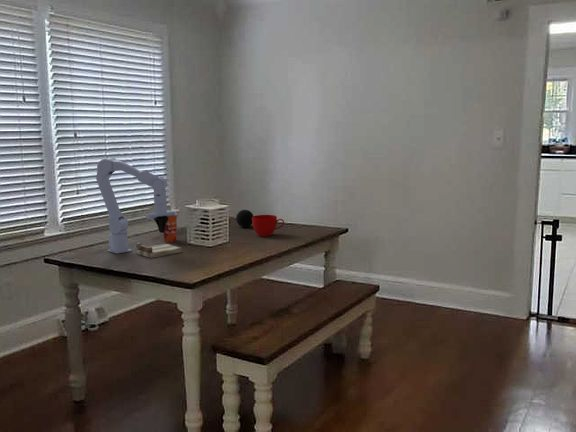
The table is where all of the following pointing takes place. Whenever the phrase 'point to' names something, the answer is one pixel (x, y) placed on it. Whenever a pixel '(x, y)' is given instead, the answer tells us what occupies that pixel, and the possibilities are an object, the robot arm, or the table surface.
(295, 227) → the table surface
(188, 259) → the table surface
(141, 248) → the folding leg
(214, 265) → the table surface
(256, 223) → the ceramic cup
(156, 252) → the cream flat block
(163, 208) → the robot arm
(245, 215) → the decorative ball
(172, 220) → the coffee cup
